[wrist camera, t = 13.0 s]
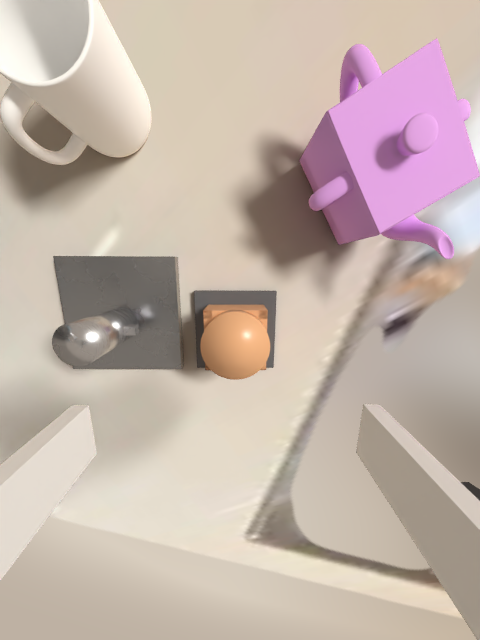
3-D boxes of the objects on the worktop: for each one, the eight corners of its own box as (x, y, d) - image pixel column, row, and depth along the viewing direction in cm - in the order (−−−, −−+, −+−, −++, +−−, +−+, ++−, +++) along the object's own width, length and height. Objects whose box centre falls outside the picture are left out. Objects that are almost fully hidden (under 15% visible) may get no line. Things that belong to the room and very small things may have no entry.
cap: (207, 303, 27) (199, 313, 21) (264, 303, 27) (271, 313, 21) (209, 357, 29) (201, 379, 23) (263, 357, 29) (269, 379, 23)
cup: (169, 109, 23) (118, -8, 14) (109, 205, 25) (26, 164, 16) (101, 47, 22) (-9, -131, 12) (44, 153, 24) (-90, 73, 14)
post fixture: (79, 364, 30) (10, 405, 21) (61, 256, 27) (-29, 250, 18) (183, 364, 30) (159, 405, 21) (177, 257, 27) (146, 251, 18)
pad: (198, 364, 30) (197, 367, 29) (195, 290, 28) (194, 291, 27) (272, 365, 30) (273, 367, 29) (275, 290, 28) (276, 291, 27)
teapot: (433, 233, 26) (549, 212, 16) (327, 293, 28) (376, 306, 18) (374, 74, 23) (477, -74, 13) (257, 152, 24) (269, 73, 15)
